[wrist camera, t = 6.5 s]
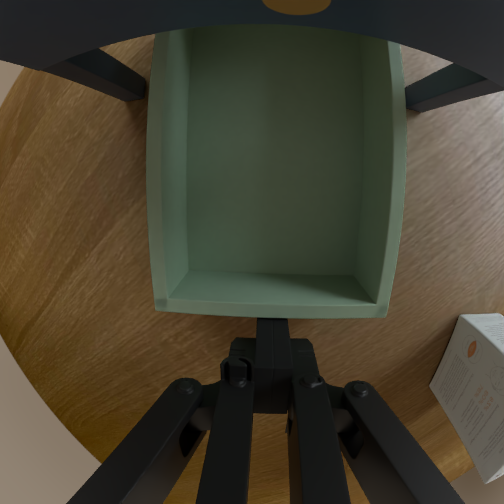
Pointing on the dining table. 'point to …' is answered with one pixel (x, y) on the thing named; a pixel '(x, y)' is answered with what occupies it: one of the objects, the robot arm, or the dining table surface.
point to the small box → (475, 389)
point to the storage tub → (275, 171)
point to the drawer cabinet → (258, 12)
